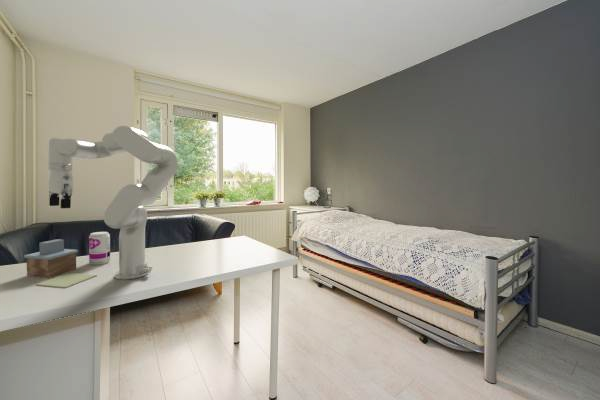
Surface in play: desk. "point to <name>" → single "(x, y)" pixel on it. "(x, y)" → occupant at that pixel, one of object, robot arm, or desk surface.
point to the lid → (51, 250)
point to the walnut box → (51, 266)
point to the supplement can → (99, 248)
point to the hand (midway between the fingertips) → (59, 206)
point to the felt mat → (66, 280)
